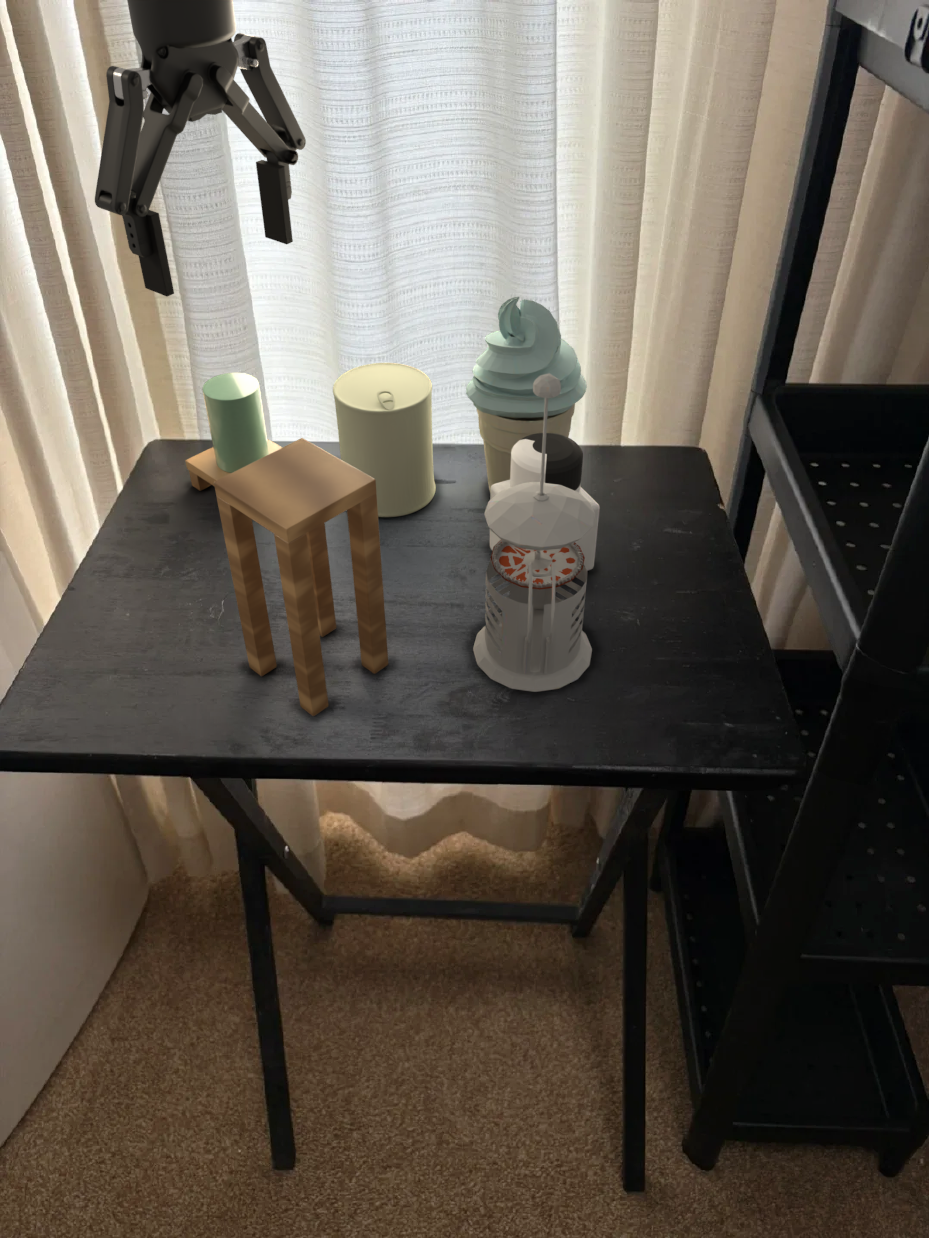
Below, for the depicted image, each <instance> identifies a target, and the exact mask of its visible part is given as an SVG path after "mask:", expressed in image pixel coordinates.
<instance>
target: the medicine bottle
mask: <svg viewBox="0 0 929 1238" xmlns="http://www.w3.org/2000/svg"><path fill="white" fill-rule="evenodd" d="M542 442H543V433H537V434H532V435H528V436H526V437H524V438H522V439H520V440H519V441H518V442H517V443H516V444H515V445H514V446H513V448H512V450H511V472H510V480H506V481H503V482H499V483H496V484H493V485H492V486H491V493H489V494H490V496H489V497H490V499H489V501H490V500H491V499H492V498H493V497H494V496H496V495H497V494H498V493H499V492H500V491H503V490H505V489H508V488H511V487H513V486H516V485H519V484H523V483H528V482H540V480H541V461H542ZM583 462H584V452H583V450H582V448H581V447H580V445H579V444H578V443H577V442H576V441H575V440H573V439H572V438H570V437H566V436H563V435H560V434H554V433H546V449H545V466H544V483H549V484H558V485H562V486H565V487H567V488H569V489H572V490H574V491H577V492H578V493H579V494H580V495H582V496H583V497H584V498H585V499H587V500H588V501H589V502H590V504H591V506H592V508H593V510H594V512H595V518H594V523H593V527H592V528H591V529H590V530H589V531H588V532H587V533H586V534H585V535H584V536H583V537H582V538H581V539H579V540H578V541H576V542H575V543H576V544H577V545H579V546H580V548H581V550H582V552H583V555H584V557H585V559H584V566H585V568H586V570H587V572H588V571H591V570H592V569H594V567H595V559H596V549H597V540H598V539H597V538H598V530H599V519H600V511H601V510H600V509H601V507H600V504H599V503H598V502H597V501H596V500H595V499H594V498H593V497H592V496H591V495H590V494H589V493H588V492H587V491H586V490H585V489H584V488H583V487H581V485H582V473H583ZM500 540H501V539H500V538H499V537H498V536H497V535H496V534H495V533H493V532H492V531H491V530H490V529H489V548H490V550H491V551H492V550H493V547H494V546H495V545H496V544H497V543H498V542H499V541H500Z"/></svg>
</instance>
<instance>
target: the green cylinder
mask: <svg viewBox="0 0 929 1238" xmlns="http://www.w3.org/2000/svg"><path fill="white" fill-rule="evenodd" d="M261 394H262V393H261V387H260V382H259V380H258V379H257V378H256V377H255V376H253V375H251V374H249V373H244V372H225V373H221V374H218V375H215V376H213V377H211V378H209V379H207V381H205V383H203V385H202V395H203V400H204V407H205V413H206V417H207V421H208V422H207V423H208V427H209V432H210V437H211V443H212V447H213V449H214V454H215V459H216V464H217V466H218V467H219V468H220V469H221V470H223V471H225V472H229V473H233V472H235V471H237V470H239V469H241V468H243V467H245V466H247V465H249V464H251V463H253V462H255V461H257V460H259V459H261V458H263V457H265V456H267V455H269V447H268V440H267V439H268V433H267V427H266V421H265V414H264V407H263V400H262V395H261Z"/></svg>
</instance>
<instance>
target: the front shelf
mask: <svg viewBox="0 0 929 1238" xmlns="http://www.w3.org/2000/svg"><path fill="white" fill-rule="evenodd" d="M213 487H214V490H215V491H214V492H215V495H216V502H217V506H218V511H219V518H220V522H221V527H222V531H223V532H222V533H223V538H224V543H225V547H226V553H227V558H228V563H229V569H230V573H231V578H232V584H233V588H234V594H235V600H236V604H237V609H238V613H239V614H238V616H239V620H240V625H241V630H242V631H241V632H242V635H243V642H244V645H245V651H246V656H247V661H248V667H249V669H251V670H252V671H254V672H255V673H256V674H258V675H259V676H260V677H264V676H265V675H267V674H268V673H270V672H271V671H273V670H275V668H276V669H277V659H276V653H275V652H276V651H275V647H274V641H273V636H272V635H273V634H272V629H271V623H270V618H269V612H268V606H267V605H268V604H267V600H266V599H267V598H266V594H265V588H264V582H263V576H262V569H261V565H260V559H259V552H258V547H257V541H256V536H255V535H256V534H255V530H254V528H255V527H254V525H253V524H254V523H253V521H254V522H255V523H257V524H259V526H261V527H263V528H265V529H266V530H268V531H269V532H271V533H272V534H273V537H274V543H275V550H276V556H277V564H278V569H279V577H280V582H281V589H282V596H283V602H284V608H285V614H286V615H285V616H286V621H287V622H286V623H287V628H288V629H287V630H288V634H289V642H290V648H291V655H292V661H293V667H294V672H295V679H296V680H295V681H296V686H297V693H298V699H299V705H300V708H301V709H303V710H304V711H305V712H307V713H308V714H309V715H310V716H312V717H315V716H318V714H320V713H321V712H323V711H325V710H326V709H327V708H328V707H329V706H330V705H329V696H328V690H327V682H326V681H327V680H326V674H325V666H324V657H323V652H322V651H323V650H322V643H321V638H324V637H325V636H326V635H327V636H328V635H329V634H330V633H331V632H333V631H334V630H336V629H337V621H336V610H335V602H334V594H333V585H332V576H331V575H332V574H331V568H330V567H331V566H330V560H329V559H330V558H329V549H328V540H327V532H326V523H327V522H329V521H330V520H332V519H334V518H335V517H337V516H339V515H341V514H343V513H344V512H346V514H347V525H348V536H349V547H350V557H351V566H352V568H351V569H352V580H353V588H354V589H353V590H354V599H355V610H356V611H355V612H356V621H357V631H358V642H359V651H360V652H359V653H360V664H361V666H362V667H364V668H365V669H367V670H368V671H369V672H371V673H372V674H374V675H375V674H377V673H379V672H380V671H381V670H382V669H385V668H386V667H387V666H388V665H389V651H388V649H389V648H388V637H387V622H386V607H385V596H384V594H385V593H384V580H383V568H382V567H383V566H382V565H383V564H382V553H381V537H380V522H379V517H378V508H377V494H376V493H377V492H376V480H375V479H374V478H372V477H370V476H369V475H367V474H365V473H363V472H362V471H360V470H358V469H356V468H355V467H353V466H351V465H349V464H347V463H346V462H344V461H342V460H341V458H340V457H337V456H335V455H334V454H332V453H330V452H328V451H326V450H325V449H323V448H322V447H319V446H318V445H317V444H314V443H312V442H310V441H308V440H307V439H305V438H303V437H300V438H299V439H296V440H294V441H292V442H291V443H288V444H286V445H284V446H283V447H282V448H281V449H279V450H277V451H275V452H273V453H271V454H269V455H267V456H265V457H263V458H261V459H259V460H257V461H255V462H253V463H251V464H249V465H247V466H245V467H243V468H241V469H239V470H237V471H235V472H233V473H231V474H229V475H227V476H225V477H223V478H221V479H219V480H217V481H215V482H214V486H213Z"/></svg>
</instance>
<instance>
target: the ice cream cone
mask: <svg viewBox="0 0 929 1238" xmlns="http://www.w3.org/2000/svg"><path fill="white" fill-rule="evenodd" d="M519 299H520V296H514V297H511V298H509V299H507V300H506V301H504V302H503V303H502V304H501V305H500V306H499V309H498V312H497V318H498V326H499V330H497V331H493V332H491V333H488V334H487V335H485V337H484V340H485V343H486V344H487V348H486V349H485V350H484V351H483V352H482V353H481V354H480V355H479V356H478V357H477V358H476V359H475V365H474V366H473V368H472V370H471V371H472V374H473V376H472V379H470V381H469V382H468V383H467V385H466V387H465V395H466V396H467V398H468V399H469V400H470V401H471V402H472V404H473V407H475V408H476V413H477V417H478V418H477V421H478V429H479V434H480V437H481V439H482V441H483V442H482V443H483V450H484V458H485V466H486V467H485V468H486V475H487V483H488V491H489V494H491V486H492V485H493V484H496V483H499V482H503V481H506V480H510V472H511V450H512V448H513V446H514V445H515V444H516V443H517V442H518V441H519V440H520V439H522V438H524V437H526V436H528V435H532V434H537V433H543V423H544V404H545V398H542V397H539V396H537V395H535V394H534V392H533V383H534V381H535V380H536V379H537V378H538V377H539V376H541V375H545V374H549V373H550V374H551V375H553V376H554V377H556V378H557V379H559V380H560V383H561V392H560V394H559V395H558V396H556V397H553V398H548V414H547V431H546V433H554V434H560V435H563V436H566V437H568V438H570V437H569V436H570V432H571V429H572V428H571V427H572V420H573V416H574V414H575V409H576V403H578V402H579V401H581V399H582V398H583V397H584V396H585V394H586V392H587V388H588V386H587V385H588V384H587V381H586V378H585V377H584V375H583V374H582V366H581V364H580V361H579V359H578V355H577V353H576V350H575V348H574V347H573V346H572V345H571V344H570V343H569V342H567V341H566V340H565V339H563V338H562V333H561V331H560V330H561V329H560V328H559V324H558V320H556V318H555V317H554V316H553V314H552V312H551V310H549V309H548V308H547V307H545V306H544V305H543V304H541V303H538V302H536V301H534V300H529V299H525V298H524V299H522V300H520V303H519V305H520V306H519V307H518V306H517V304H518V302H519Z"/></svg>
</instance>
